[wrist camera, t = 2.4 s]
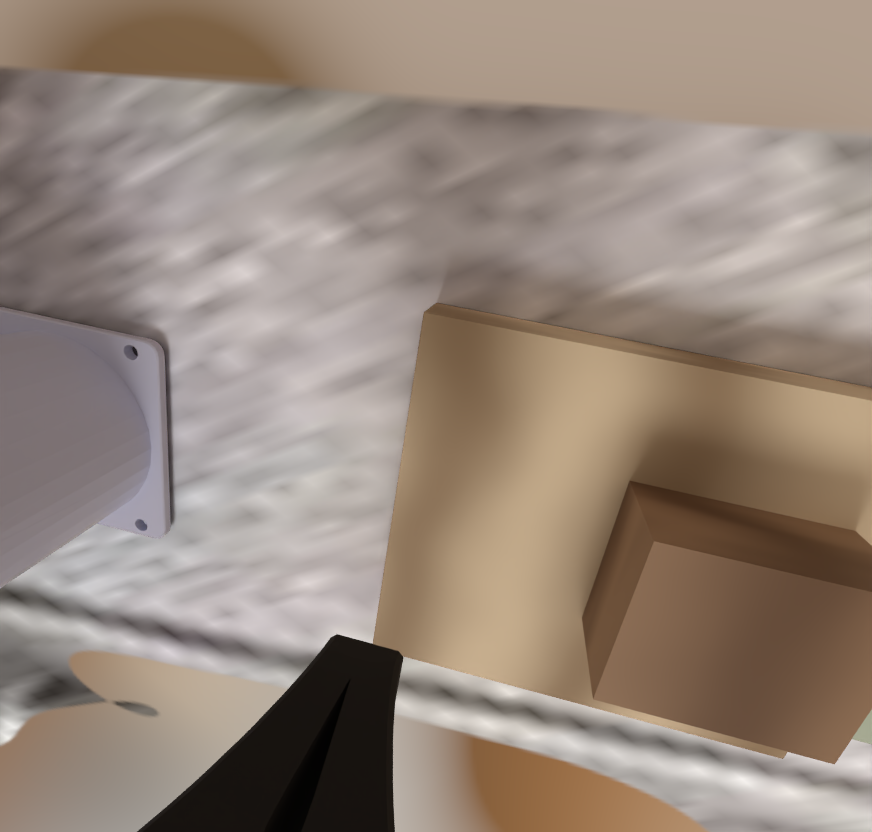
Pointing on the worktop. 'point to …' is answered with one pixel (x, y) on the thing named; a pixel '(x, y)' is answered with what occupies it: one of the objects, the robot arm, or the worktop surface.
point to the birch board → (583, 482)
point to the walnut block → (733, 621)
